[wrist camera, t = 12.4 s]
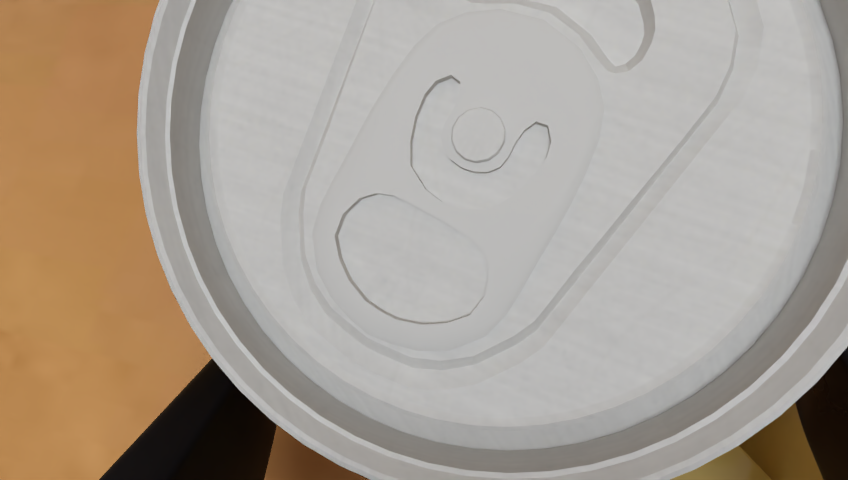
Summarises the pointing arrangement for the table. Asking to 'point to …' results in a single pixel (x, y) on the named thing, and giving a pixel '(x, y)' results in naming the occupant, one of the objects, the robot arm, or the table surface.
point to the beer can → (505, 222)
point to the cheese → (765, 455)
